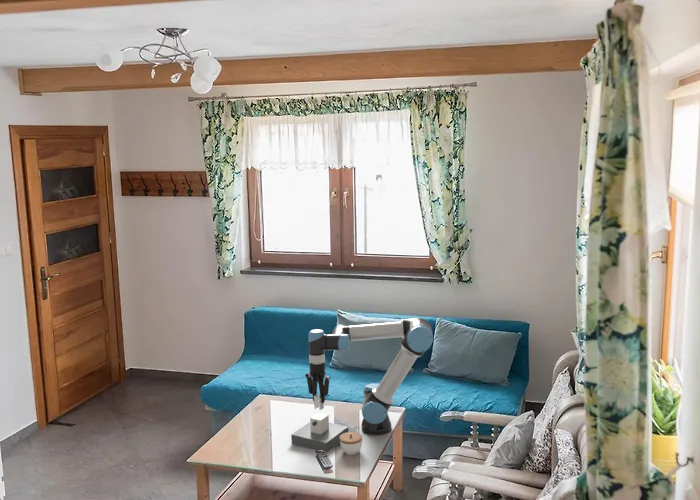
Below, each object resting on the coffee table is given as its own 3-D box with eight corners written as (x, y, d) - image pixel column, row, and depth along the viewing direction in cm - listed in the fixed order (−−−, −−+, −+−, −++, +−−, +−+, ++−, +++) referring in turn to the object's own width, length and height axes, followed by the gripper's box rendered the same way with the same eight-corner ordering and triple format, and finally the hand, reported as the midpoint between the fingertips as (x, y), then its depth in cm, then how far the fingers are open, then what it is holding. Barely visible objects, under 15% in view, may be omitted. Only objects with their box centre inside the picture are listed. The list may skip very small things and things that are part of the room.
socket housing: (348, 436, 343) (348, 426, 342) (326, 452, 326) (326, 442, 325) (314, 428, 353) (314, 419, 352) (291, 444, 336) (291, 434, 335)
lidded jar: (355, 459, 318) (354, 440, 317) (335, 454, 324) (334, 435, 322) (366, 450, 327) (366, 431, 326) (347, 445, 333) (347, 426, 331)
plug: (329, 435, 340) (328, 415, 339) (319, 442, 333) (318, 421, 331) (319, 432, 343) (318, 412, 342) (309, 439, 336) (308, 419, 334)
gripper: (334, 361, 332) (336, 408, 336) (308, 357, 339) (310, 402, 343) (326, 366, 325) (328, 414, 329) (299, 361, 333) (301, 408, 337)
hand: (319, 408), depth 336 cm, fingers open, 2 cm apart
